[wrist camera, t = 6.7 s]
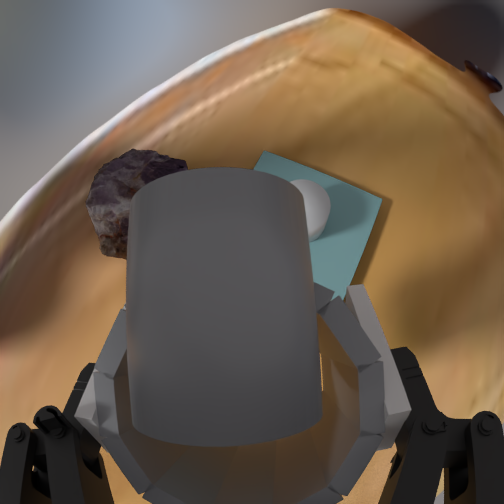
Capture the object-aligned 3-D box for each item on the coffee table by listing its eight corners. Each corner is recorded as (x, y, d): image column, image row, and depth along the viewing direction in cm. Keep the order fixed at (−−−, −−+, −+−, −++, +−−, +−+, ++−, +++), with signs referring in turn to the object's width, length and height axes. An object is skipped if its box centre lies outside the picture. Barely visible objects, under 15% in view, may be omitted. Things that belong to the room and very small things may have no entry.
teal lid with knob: (215, 248, 34) (202, 230, 29) (265, 157, 36) (261, 129, 31) (338, 305, 31) (349, 298, 26) (378, 204, 33) (393, 181, 28)
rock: (209, 235, 36) (182, 164, 38) (203, 201, 28) (172, 120, 30) (113, 273, 34) (95, 199, 36) (82, 249, 26) (68, 162, 28)
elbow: (339, 444, 16) (409, 568, 4) (183, 449, 16) (70, 554, 5) (327, 267, 19) (392, 155, 7) (172, 279, 19) (41, 197, 7)
